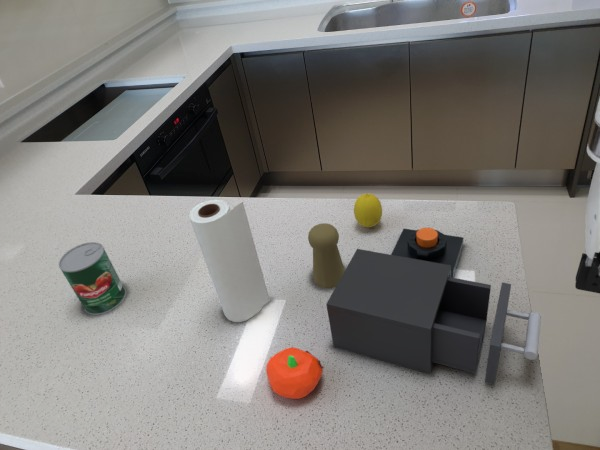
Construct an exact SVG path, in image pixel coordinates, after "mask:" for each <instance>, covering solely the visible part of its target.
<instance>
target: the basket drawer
mask: <svg viewBox="0 0 600 450" xmlns="http://www.w3.org/2000/svg"><path fill="white" fill-rule="evenodd" d="M511 287H512V284H511V283H508V282H501V285H500V289H499V290H500V291H499V296H498V300H497V304H496V311H495V316H494V321H493V326H492V332H491V337H490V341H489V349H488V356H487V363H486V369H485V370H486V371H485V379H484V383H486V384H489V385H493V386H495V384H496V379H497V373H498V367H499V360H500V356H501V355H500V354H501V350H503V351H508V352H512V353H517V354H519V355H523V356H524V357H525V359H527V360H531V361H535V360H537V359H538V354H539V353H538V352H539V345H540V334H541V323H542V315H541V314H540V313H539V312H537V311H530V312H529V313H527V312H525V313H524V312H520V311H514V310H511V309H508V308H509V307H508V305H509V300H510V294H511V289H512V288H511ZM491 290H492V285H491V284H488V283H483V282H477V281H473V280H467V279H461V278H456V277H453V278H452V277H448V281H447V284H446V287H445V290H444V293H443V296H442V300H441V303H440V306H439V309H438V312H437V315H436V319H435V322H434V325H433V328H432V362H434V363H433V364H437V365H442V366H445V367H449V368H453V369H456V370H461V371H464V372H467V373H471V374H477V369H478V365H479V359H480V354H481V350H482V344H483V340H484V335H485V330H486V325H487V321H488V313H489V307H490V306H489V305H490V298H491V297H490V296H491ZM507 316H508V317H513V318H517V319H522V320H525V321H526V320H527V328H526V334H525V342H524V347H522V346H517V345H513V344H510V343H505V342H503V338H504V332H505V326H506V320H507Z"/></svg>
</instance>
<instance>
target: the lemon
mask: <svg viewBox="0 0 600 450" xmlns="http://www.w3.org/2000/svg"><path fill="white" fill-rule="evenodd" d="M353 215H354V218H355V220H356V222H357V223H358V224H359V225H360V226H362V227H364V228H372V227H375V226H376V225H377V224H379V223H380V222H381V220H382V216H383V207H382V203H381V200H380V199H379V198H378V197H377V196H376V195H375V194H372V193H369V192H368V193H363V194H360V195H359V196H358V197H357V198H356V200H355V201H354V206H353Z"/></svg>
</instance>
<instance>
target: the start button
mask: <svg viewBox="0 0 600 450" xmlns="http://www.w3.org/2000/svg"><path fill="white" fill-rule="evenodd" d="M417 230H418V231H417V233H416V242H417V244H418V245H419V246H421V247H426V248H428V247H434V246H435V245H436V244H437V242H438V233H437V231H438V230H437V229H434V228H432V227H422V228H419V229H417ZM436 230H437V231H436Z"/></svg>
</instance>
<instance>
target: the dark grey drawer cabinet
mask: <svg viewBox="0 0 600 450" xmlns="http://www.w3.org/2000/svg"><path fill="white" fill-rule="evenodd" d="M448 277H451V265H445V264H440V263H434V262H429V261H423V260H417V259H412V258H406V257H401V256H395V255H391V254H389V253H383V252H378V251H372V250H367V249H361V248H356V250H355V252H354V254H353V255H352V257H351V259H350V261H349V262H348V264H347V266H346V267H345V271H344V273H343V275H342V277H341V279H340V280H339V282H338V284H337V286H336V287H334V288H333V291H332V293H331V295H330V297H328V300H327V302H326V310H327V315H328V322H329V327H330V333H331V339H332V346H333V348H335V349H338V350H342V351H346V352H350V353H353V354H355V355H356V354H357V355H360V356H363V357H366V358H367V357H368V358H371V359H374V360H377V361H381V362H385V363H388V364H392V365H395V366H397V367H398V366H399V367H402V368H406V369H409V370H413V371H417V372H420V373H424V374H427V375H431V373H432V370H433V366H434V364H435V363H434V362H432V328H433V325H434V322H435V319H436V315H437V312H438V309H439V306H440V303H441V300H442V296H443V293H444V290H445V287H446V284H447V281H448Z"/></svg>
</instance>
